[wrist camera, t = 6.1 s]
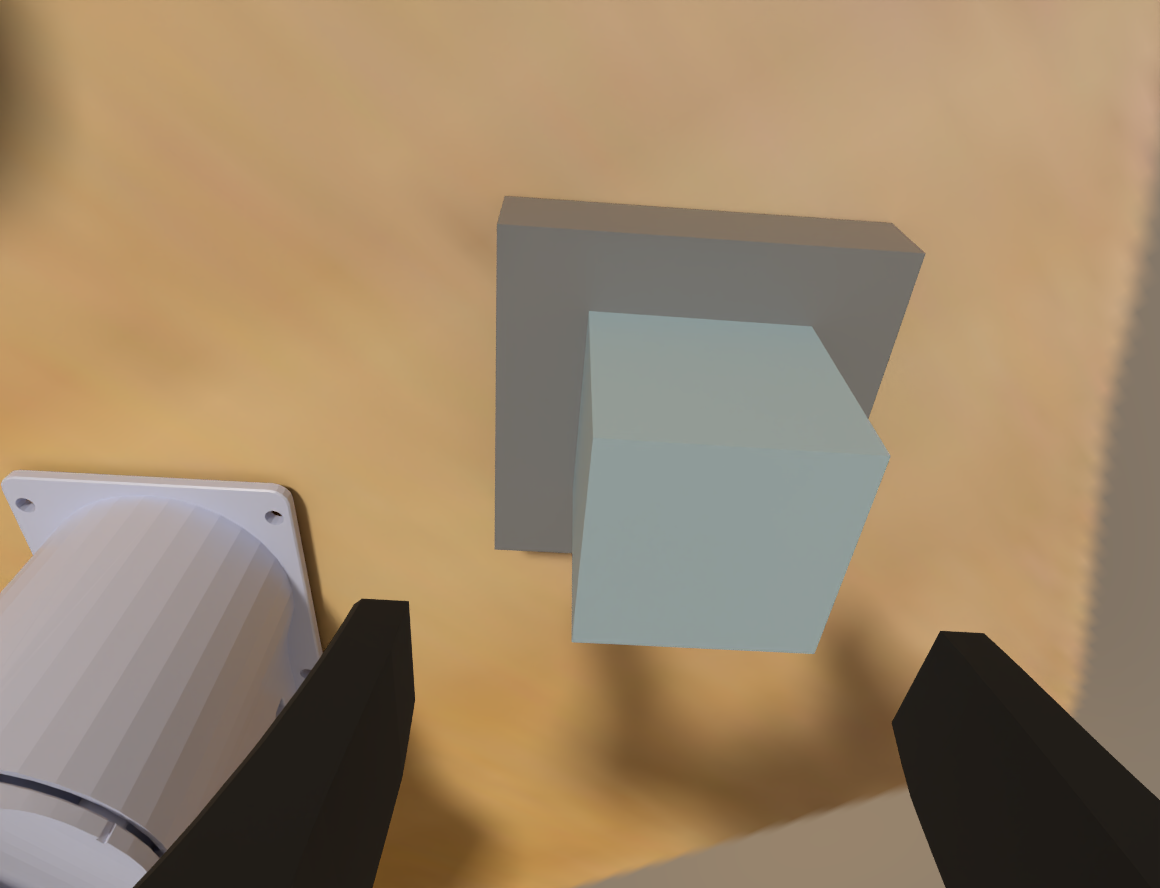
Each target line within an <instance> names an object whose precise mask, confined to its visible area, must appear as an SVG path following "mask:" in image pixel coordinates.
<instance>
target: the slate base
mask: <svg viewBox="0 0 1160 888" xmlns="http://www.w3.org/2000/svg"><path fill="white" fill-rule="evenodd" d="M924 256H925V253H924V252H923V251H922V250H921V249H920V248H919V247H918V246H917V245H916V244H915V243H913V242H912V241H911V240H910V239H909V238H908V237H907V236H906V235H905V234H903V233H902V232H901V231H900V230H899V229H898V228H897V227H896V226H895V225H893V224H892V223H883V222H869V221H854V220H840V219H826V218H812V217H797V216H783V215H769V214H755V213H740V212H726V211H712V210H698V209H683V208H669V207H655V206H641V205H627V204H612V203H598V202H584V201H570V200H555V199H541V198H527V197H513V196H505V197H504V201H503V204H502V208H501V211H500V215H499V219H498V222H497V293H496V437H495V549H497V550H517V551H537V552H558V553H572V529H573V482H574V471H575V459H576V448H577V437H578V426H579V415H580V404H581V393H582V382H583V370H584V359H585V348H586V337H587V326H588V315H589V311H596V312H611V313H625V314H639V315H654V316H668V317H683V318H697V319H712V320H726V321H740V322H755V323H769V324H784V325H798V326H812V327H813V329H814V331H815V332H816V334H817V336H818V337H819V339H820V341H821V342H822V344H823V345H824V347H825V349H826V350H827V352H828V354H829V355H830V357H831V359H832V360H833V362H834V364H835V365H836V367H837V369H838V370H839V372H840V374H841V375H842V377H843V378H844V380H845V382H846V383H847V385H848V387H849V388H850V390H851V392H852V393H853V395H854V397H855V398H856V400H857V402H858V403H859V405H860V407H861V408H862V410H863V411H864V413H865V415H866V416H867V418H869V415H870V412H871V410H872V407H873V404H874V401H875V398H876V395H877V392H878V389H879V386H880V384H881V381H882V378H883V375H884V372H885V369H886V366H887V363H888V360H889V358H890V355H891V352H892V349H893V346H894V343H895V340H896V337H897V334H898V331H899V329H900V326H901V323H902V320H903V317H904V314H905V311H906V308H907V305H908V303H909V300H910V297H911V294H912V291H913V288H914V285H915V282H916V279H917V276H918V274H919V271H920V268H921V265H922V262H923V259H924Z"/></svg>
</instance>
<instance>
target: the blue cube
mask: <svg viewBox="0 0 1160 888" xmlns="http://www.w3.org/2000/svg"><path fill="white" fill-rule="evenodd" d="M889 459H890V454H889V453H888V451H887V449H886V448H885V446H884V444H883V443H882V441H881V439H880V438H879V436H878V435H877V433H876V431H875V430H874V428H873V426H872V425H871V423H870V421H869V420H868V418H867V416H866V415H865V413H864V411H863V410H862V408H861V407H860V405H859V403H858V402H857V400H856V398H855V397H854V395H853V393H852V392H851V390H850V388H849V387H848V385H847V383H846V382H845V380H844V378H843V377H842V375H841V374H840V372H839V370H838V369H837V367H836V365H835V364H834V362H833V360H832V359H831V357H830V355H829V354H828V352H827V350H826V349H825V347H824V345H823V344H822V342H821V341H820V339H819V337H818V336H817V334H816V332H815V331H814V329H813V327H812V326H798V325H784V324H769V323H755V322H740V321H726V320H712V319H697V318H683V317H668V316H654V315H639V314H625V313H611V312H596V311H589V315H588V326H587V337H586V348H585V359H584V370H583V382H582V393H581V404H580V415H579V426H578V437H577V448H576V459H575V471H574V482H573V529H572V642H580V643H600V644H621V645H642V646H662V647H683V648H703V649H724V650H745V651H765V652H786V653H807V654H814V653H815V651H816V648H817V646H818V643H819V640H820V638H821V635H822V633H823V630H824V627H825V625H826V622H827V620H828V617H829V614H830V612H831V609H832V607H833V604H834V602H835V599H836V596H837V594H838V591H839V589H840V586H841V583H842V581H843V578H844V576H845V573H846V570H847V568H848V565H849V563H850V560H851V557H852V555H853V552H854V550H855V547H856V545H857V542H858V539H859V537H860V534H861V532H862V529H863V526H864V524H865V521H866V519H867V516H868V513H869V511H870V508H871V506H872V503H873V500H874V498H875V495H876V493H877V490H878V488H879V485H880V482H881V480H882V477H883V475H884V472H885V469H886V467H887V464H888V462H889Z"/></svg>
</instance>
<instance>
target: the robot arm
mask: <svg viewBox="0 0 1160 888" xmlns="http://www.w3.org/2000/svg"><path fill="white" fill-rule="evenodd" d="M1 487H2V490H3V492H4V495H5V497H6V499H7V501H8V503H9V505H10V507H11V509H12V512H13V514H14V516H15V518H16V520H17V522H18V524H19V526H20V528H21V531H22V533H23V535H24V537H25V539H26V541H27V543H28V545H29V548H30V550H31V552H32V554H33V556H32V557H31V559H30V560H29V561H28V562H27V563H26V564H25V565H24V566H23V568H22V569H21V570H20V571H19V572H18V573H17V574H16V576H15V577H14V578H13V579H12V580H11V581H10V582H9V584H8V585H7V586H6V587H5V588H4V589H3V590H2V591H1V593H0V888H372V887H373V884H374V880H375V876H376V873H377V869H378V865H379V862H380V858H381V854H382V851H383V847H384V843H385V840H386V836H387V832H388V828H389V825H390V821H391V817H392V813H393V810H394V806H395V802H396V799H397V795H398V791H399V787H400V783H401V780H402V776H403V770H404V764H405V758H406V752H407V746H408V741H409V734H410V728H411V722H412V716H413V709H414V703H415V691H414V675H413V660H412V644H411V629H410V613H409V601H394V600H376V599H361V600H360V601H358V602H357V603H355V604H354V605H353V607H352V609H351V610H350V612H349V614H348V615H347V617H346V619H345V620H344V622H343V623H342V625H341V626H340V628H339V630H338V631H337V633H336V634H335V636H334V637H333V639H332V640H331V642H330V643H329V645H328V646H327V648H326V649H325V651H324V652H322V647H321V642H320V637H319V631H318V626H317V621H316V616H315V610H314V605H313V600H312V595H311V590H310V584H309V579H308V574H307V569H306V563H305V558H304V553H303V548H302V542H301V537H300V532H299V527H298V521H297V516H296V511H295V506H294V500H293V497H292V494H291V492H290V491H289V490H288V489H287V488H285V487H283V486H281V485H279V484H274V483H258V482H239V481H220V480H201V479H182V478H163V477H144V476H125V475H106V474H87V473H68V472H50V471H31V470H16V471H13V472H11V473H10V474H9V475H7V476H6V477H5V478H4V479H3V481H2V483H1ZM27 499H28V500H27ZM29 500H30V501H31V502H30V501H29ZM32 502H33V503H32ZM271 511H276V512H278V513H280V514H281V515H282V516H277V515H275V514H273V513H272V512H271ZM892 726H893V730H894V734H895V738H896V743H897V747H898V751H899V755H900V759H901V764H902V767H903V771H904V774H905V778H906V782H907V785H908V789H909V793H910V796H911V799H912V802H913V805H914V807H915V810H916V813H917V815H918V818H919V821H920V823H921V826H922V829H923V831H924V833H925V836H926V839H927V841H928V844H929V847H930V849H931V852H932V854H933V857H934V859H935V862H936V864H937V867H938V869H939V872H940V875H941V877H942V880H943V882H944V885H945V887H946V888H1160V800H1159V799H1158V798H1157V797H1156V796H1155V795H1154V794H1153V793H1151V792H1150V791H1149V790H1148V789H1147V788H1146V787H1145V786H1144V785H1143V784H1142V783H1140V782H1139V780H1137V779H1136V778H1135V777H1134V776H1133V775H1132V774H1131V773H1130V772H1129V771H1128V770H1126V768H1125V767H1124V766H1123V765H1121V764H1120V763H1119V762H1118V761H1117V760H1116V759H1115V758H1114V757H1113V756H1112V755H1111V754H1110V753H1109V752H1108V751H1106V750H1105V748H1103V747H1102V746H1101V745H1100V744H1099V743H1098V742H1097V741H1096V740H1095V739H1094V738H1093V737H1092V736H1091V735H1090V734H1089V733H1088V732H1087V731H1085V729H1084V728H1083V727H1082V726H1081V725H1079V724H1078V723H1077V722H1076V721H1075V720H1074V719H1073V718H1072V717H1071V716H1070V715H1069V714H1068V713H1067V712H1066V711H1065V710H1064V709H1063V708H1062V707H1061V706H1060V705H1059V704H1058V703H1057V702H1056V701H1055V700H1054V699H1053V698H1052V697H1051V696H1050V695H1048V694H1047V693H1046V692H1045V691H1044V690H1043V689H1042V688H1041V687H1040V686H1039V685H1038V684H1037V683H1036V682H1035V681H1034V680H1033V679H1032V678H1031V677H1030V676H1029V675H1028V674H1027V673H1026V672H1025V671H1024V670H1023V669H1022V668H1021V667H1020V666H1018V665H1017V664H1016V663H1015V662H1014V661H1013V660H1012V659H1011V658H1010V657H1009V656H1008V655H1007V654H1006V653H1005V652H1004V651H1003V650H1002V649H1000V648H999V647H998V646H997V645H996V644H995V643H994V642H993V641H992V640H991V639H989V638H988V637H987V636H986V635H985V634H984V633H969V632H951V631H940V633H939V634H938V636H937V638H936V640H935V642H934V644H933V646H932V648H931V650H930V651H929V653H928V655H927V657H926V659H925V661H924V663H923V665H922V667H921V668H920V670H919V672H918V674H917V676H916V678H915V680H914V682H913V684H912V685H911V687H910V689H909V691H908V693H907V695H906V697H905V699H904V701H903V702H902V704H901V706H900V708H899V710H898V712H897V714H896V716H895V717H894V719H893V721H892Z"/></svg>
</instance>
